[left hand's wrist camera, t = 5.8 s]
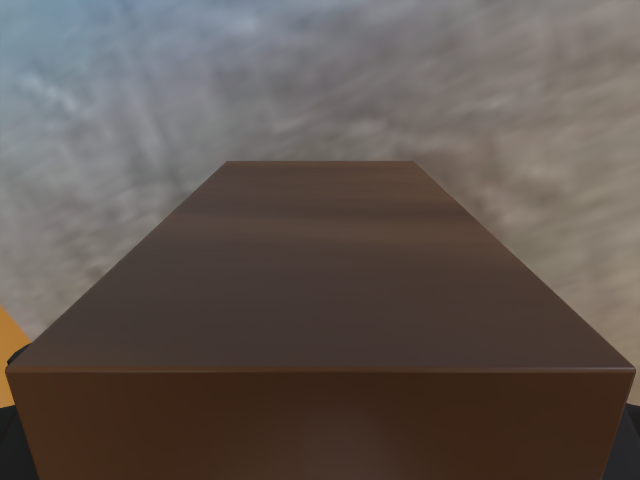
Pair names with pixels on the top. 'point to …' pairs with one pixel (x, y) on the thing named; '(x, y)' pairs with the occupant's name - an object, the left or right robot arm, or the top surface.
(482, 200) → the top surface
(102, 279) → the box
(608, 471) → the left robot arm
